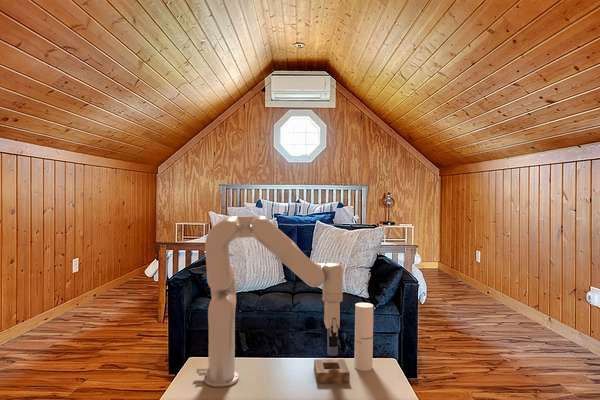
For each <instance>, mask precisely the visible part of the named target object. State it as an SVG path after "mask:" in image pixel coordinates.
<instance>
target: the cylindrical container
mask: <svg viewBox="0 0 600 400" xmlns="http://www.w3.org/2000/svg"><path fill="white" fill-rule="evenodd" d="M354 305H355V306H354V307H355V309H354V310H355V311H354V361H353V362H354V366H353V367H354V369H356V370H358V371H362V372H365V371H366V372H367V371H371V370H372V369H373V353H374V352H373V348H374V347H373V346H374V344H373V342H374V304H372V303H370V302H357V303H355V304H354Z"/></svg>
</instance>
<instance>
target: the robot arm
mask: <svg viewBox="0 0 600 400" xmlns="http://www.w3.org/2000/svg"><path fill="white" fill-rule="evenodd" d="M206 235H207V236H206V238H205V245H204V246H205V264H206V265H205V266H206V281H207V284H208V287H209V288H210V294H211V296H210V297H211V299H210V302H209V305H208V309H207V319H208V321H207V323H208V366H205V367H197V368H196V370H195V371H196V374H198V376H200V377H201V376H202V377H204V378H203V382H204V384H205V385H207V386H210V387H214V388H225V387H230V386H232V385H234V384H236V383H237V382H238V381H239V378H240V377H239V376H240V375H239V372H237V371H236V370H235V364H236V363H235V361H236V360H235V358H236V357H235V355H236V352H235V350H236V309H237V308H236V307H237V292H236V291H237V290H236V282H235V281H236V280H235V272H234V269H233V267H232V265H231V263H230V249H229V246H230V244H231V242H233V241H235V240H237V238H238V239H240V238H241V239H243V238H254V239H255V240H256V241H257V242H258V243H260V244H261V245H262V246H263V247H265V248H266V249H267V250H268V251H269V252H270V253H271V254H272V255H273V256H275V258H277V259H278V260H279V261H280V262H281V263H282V264H284V266H285V267H286V268H288V269H289V270H290V271H291V272H292V273H294V274H295V275H296V276H297V277H298V278H299V279H300V280H301V281H303V283H304V284H306V285H307V286H308V287H312V288H318V287H321V286H322V301H323V302H324V310H323V311H324V312H323V313H324V314H323V316H324V317H323V322H324V325H325V328H326V329H328V328H330V336H329V347H337V346H338V347H339V335H338V336H337V328H338V329H340V327H341V326H340V324H341V323H340V322H341V316H340V315H341V309H340V308H341V306H340V303H341V302H343V270H344V269H343V266H342V265H341V263H337V262H328V263H327V262H326V263H322V262H321V263H319V262H315V261H313V260H312V259H310V258H309V257H308V256H307V255H306V254H305V253H304V252H303V251H302V250H301V248H299V247H298V245H297V244H296V242H295V241H293V240H292V239H291V238H290V236H287V234H285V233H284V232H283V230H281V229H279V228H278V226H276V225H275V224H274V223H273V222H272V221H271V220H270V219H269V218H268V217H267V216H264V215H237V216H236V215H234V216H233V215H232V216H231V215H230V216H226V217H224V218H223V219H222V220H220V221H219V222H218V223H216V224H215V225H213V226H212V227H211V229H210V230H209V231H208V233H207V234H206ZM331 326H333V328H331ZM331 330H333V331H332V332H331Z"/></svg>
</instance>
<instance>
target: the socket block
mask: <svg viewBox="0 0 600 400" xmlns="http://www.w3.org/2000/svg"><path fill="white" fill-rule="evenodd" d="M313 373H314V376H315V380H316V384H317V385H318V384H321V385H322V384H329V385H330V384H350V378H351V377H350V373H351V372H350V370H349V368H348V365H347V362H346V360H345V359H344V358H342V359H340V358H337V359H336V358H335V359H333V358H332V359H330V358H329V359H328V358H327V359H325V358H324V359H314V360H313Z"/></svg>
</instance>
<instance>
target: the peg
mask: <svg viewBox="0 0 600 400" xmlns="http://www.w3.org/2000/svg"><path fill="white" fill-rule="evenodd" d="M331 328H333V326H331ZM326 329H327V328H326ZM332 331H333V330H331V332H332ZM326 336H327V337H326V338H327V341H326V342H327V344H326V345H327V347H326V349H327V350H326V353H327V355H328V356H330V357H331V356H332V357H334V356H338V355H339V345H338V346H337V347H329V336H330V328H328V329H327V335H326ZM337 336H338V337H339V328H337Z"/></svg>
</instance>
